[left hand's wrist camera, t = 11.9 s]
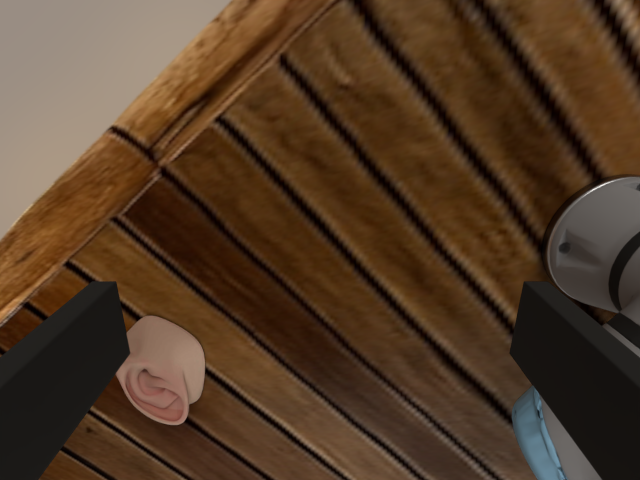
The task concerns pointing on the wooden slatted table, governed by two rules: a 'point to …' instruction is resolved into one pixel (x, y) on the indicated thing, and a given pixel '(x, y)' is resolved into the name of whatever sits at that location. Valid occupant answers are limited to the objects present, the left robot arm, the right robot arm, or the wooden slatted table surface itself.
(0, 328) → the wooden slatted table surface
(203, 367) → the anatomical model
